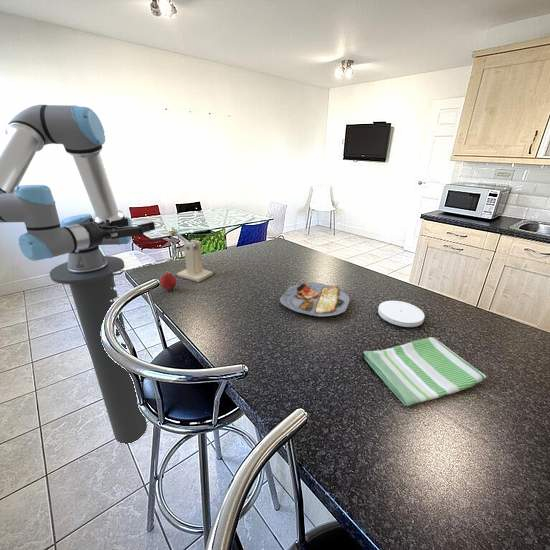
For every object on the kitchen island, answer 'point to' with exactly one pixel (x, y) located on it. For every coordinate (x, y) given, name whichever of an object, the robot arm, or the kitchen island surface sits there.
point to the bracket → (194, 263)
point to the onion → (168, 281)
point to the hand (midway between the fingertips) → (140, 223)
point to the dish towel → (422, 370)
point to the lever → (174, 231)
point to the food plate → (315, 299)
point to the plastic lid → (401, 313)
